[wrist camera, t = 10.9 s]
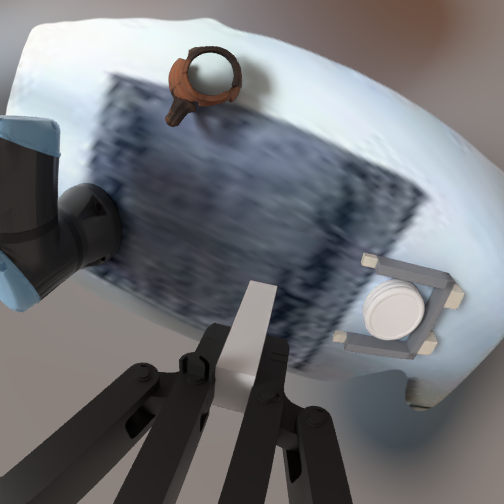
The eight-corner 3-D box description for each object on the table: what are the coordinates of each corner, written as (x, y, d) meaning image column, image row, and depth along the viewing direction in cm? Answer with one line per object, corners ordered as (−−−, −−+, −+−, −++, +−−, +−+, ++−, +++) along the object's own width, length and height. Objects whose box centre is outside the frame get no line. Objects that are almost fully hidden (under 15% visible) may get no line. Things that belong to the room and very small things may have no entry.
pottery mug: (186, 47, 32) (196, 27, 25) (242, 75, 36) (263, 63, 29) (145, 117, 34) (143, 111, 27) (203, 143, 38) (216, 145, 31)
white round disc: (351, 319, 44) (353, 333, 41) (379, 269, 40) (384, 280, 36) (400, 334, 43) (404, 347, 40) (429, 287, 39) (436, 299, 36)
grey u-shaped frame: (332, 336, 46) (333, 348, 43) (363, 252, 39) (367, 261, 36) (422, 350, 44) (426, 361, 41) (461, 276, 37) (468, 285, 34)
